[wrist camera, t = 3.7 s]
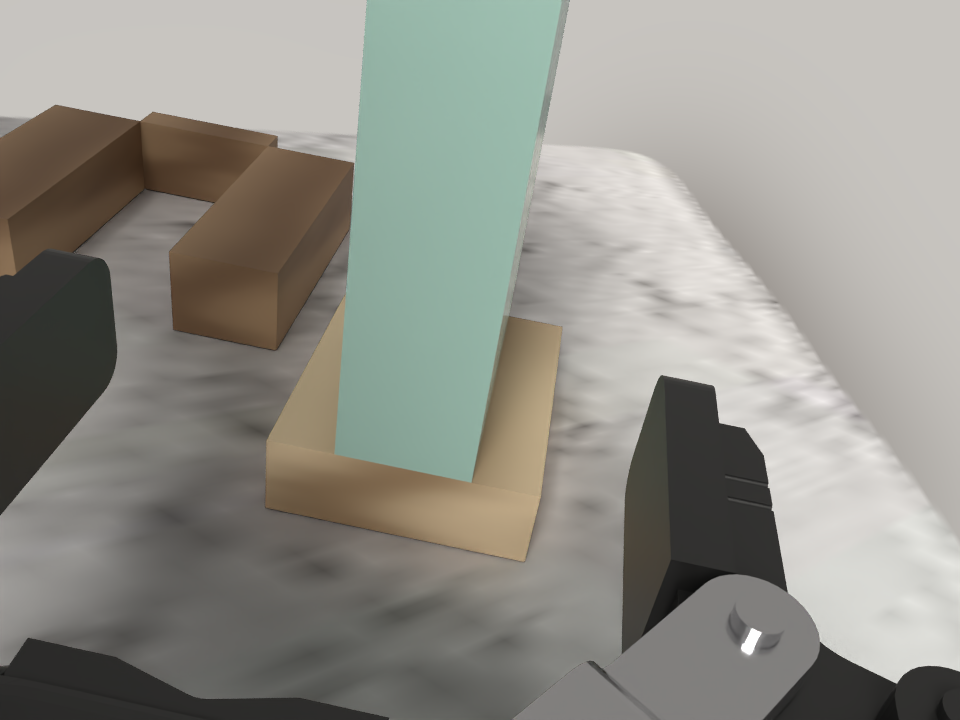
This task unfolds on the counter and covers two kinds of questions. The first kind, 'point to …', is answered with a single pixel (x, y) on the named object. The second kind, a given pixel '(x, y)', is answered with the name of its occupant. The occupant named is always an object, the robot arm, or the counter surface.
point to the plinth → (415, 495)
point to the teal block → (439, 220)
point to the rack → (191, 173)
